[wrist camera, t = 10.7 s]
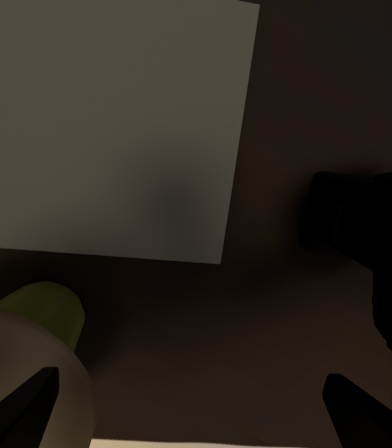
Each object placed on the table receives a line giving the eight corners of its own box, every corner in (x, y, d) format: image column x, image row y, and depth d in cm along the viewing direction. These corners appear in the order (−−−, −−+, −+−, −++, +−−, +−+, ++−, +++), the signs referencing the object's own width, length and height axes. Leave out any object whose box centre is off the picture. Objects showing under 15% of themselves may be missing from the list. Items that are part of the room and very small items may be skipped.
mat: (254, 13, 17) (259, 4, 16) (218, 259, 21) (220, 264, 20) (-36, -43, 15) (-50, -56, 14) (-9, 242, 19) (-18, 246, 18)
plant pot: (-27, 333, 21) (-159, 447, 13) (13, 241, 19) (-108, 304, 11) (77, 371, 23) (23, 492, 15) (123, 290, 21) (90, 375, 13)
